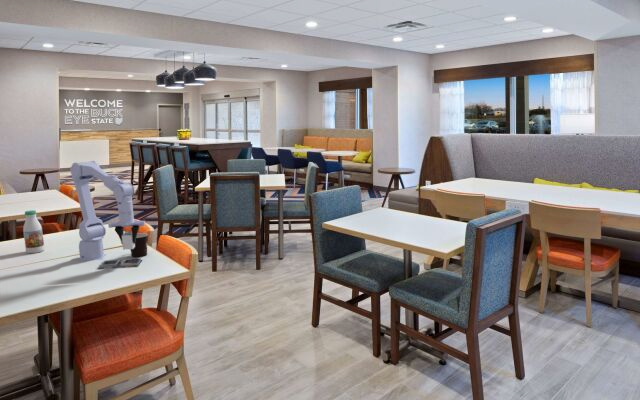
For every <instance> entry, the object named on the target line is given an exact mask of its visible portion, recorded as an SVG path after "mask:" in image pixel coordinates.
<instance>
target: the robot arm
mask: <svg viewBox="0 0 640 400" xmlns="http://www.w3.org/2000/svg"><path fill="white" fill-rule="evenodd" d="M69 170H70V175H71V179H72V182H73V184H74V186H75V190H76V194H77V198H78V202H79V207H80V210H81V211H80V212H81V214H82V219H83V220H82V221H81V222H80V223H79V224H78V228H79V229H78V234H79V237H80V239H81V240H80V241H79V243H78V250H79V251H78V253H79V261H80V262H81V261H97V260H98V261H99V260H103V259H104V258H105V257H106V256H107V254H104V253H105V251H104V243H103V239H104V238H105V237H104V236H105V235H106V233H107V232H106V231H107V228H106V226H105V225H104V222H103V220H102V219H100V218H98V217H97V215H96V211H95V206H94V202H93V197H92V194H91V190H90V186H89V182H91V180H93V178H96V179H98V180H100V181H101V182H103V185H104V186H105V188H107V189H109V190H110V191H111V192H113V195H114V198H115V202H116V203H117V209H118V219H119V221H113V222H112V221H111V222H108V224H107V225H108V229H111V228H114V231H115V233H116V234H117V236H118V237H119V239H120V243H121V244H122V235H123V234H124V232H125V230H124V228H127V227H128V228H129V227H131V228H130V230H131V233H132V236H133V243H135V242H136V236H137V233H138V232H139V229H140V227H145V226H146V220H135V217H134V208H133V207H134V206H133V196H134V194H135V187H134V185H133V184H132V183H131V182H124V181H123V179H122V180H121V179H120V178H118V177H117V175H115V174H108V173H107V172H106V171H105V170H103V168H101V167H100V164H99V163H98V162H96V161H95V160H91V161H81V162H73V163H72V164H71V166H70V169H69Z"/></svg>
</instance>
